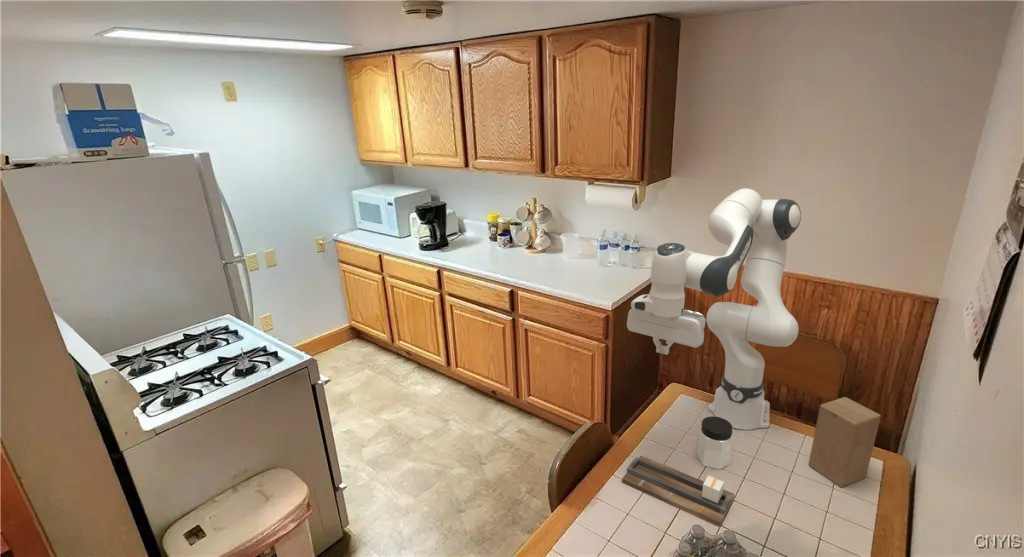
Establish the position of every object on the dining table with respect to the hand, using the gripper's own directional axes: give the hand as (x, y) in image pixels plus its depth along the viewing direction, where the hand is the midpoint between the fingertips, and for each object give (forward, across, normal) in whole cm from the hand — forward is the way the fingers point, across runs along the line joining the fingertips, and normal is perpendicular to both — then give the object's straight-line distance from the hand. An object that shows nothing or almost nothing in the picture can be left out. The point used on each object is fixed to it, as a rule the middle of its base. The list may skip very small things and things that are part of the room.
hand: (662, 352), depth 135 cm
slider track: (+34, -10, +9) cm, 37 cm away
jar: (+34, -14, -9) cm, 38 cm away
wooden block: (+34, -43, -24) cm, 60 cm away
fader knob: (+33, -19, +9) cm, 39 cm away
